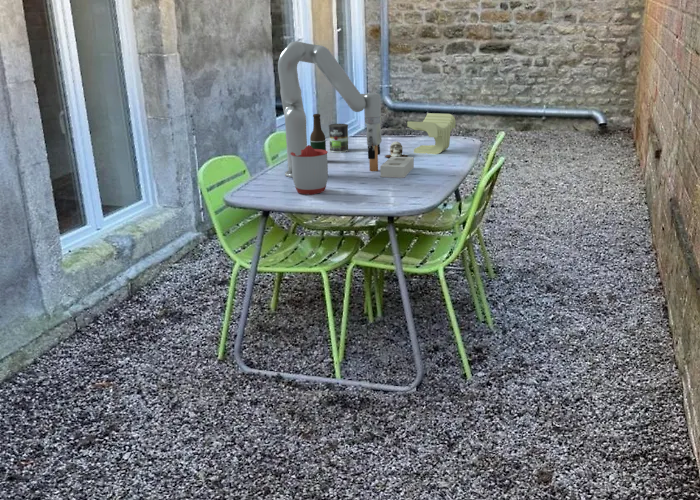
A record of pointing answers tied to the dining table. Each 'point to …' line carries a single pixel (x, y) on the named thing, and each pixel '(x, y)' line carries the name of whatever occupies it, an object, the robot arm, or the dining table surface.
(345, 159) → the dining table surface
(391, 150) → the skull
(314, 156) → the citrus juicer
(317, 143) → the beer bottle
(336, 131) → the coffee can
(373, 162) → the peg
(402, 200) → the dining table surface
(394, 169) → the block
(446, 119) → the slatted curved stool
